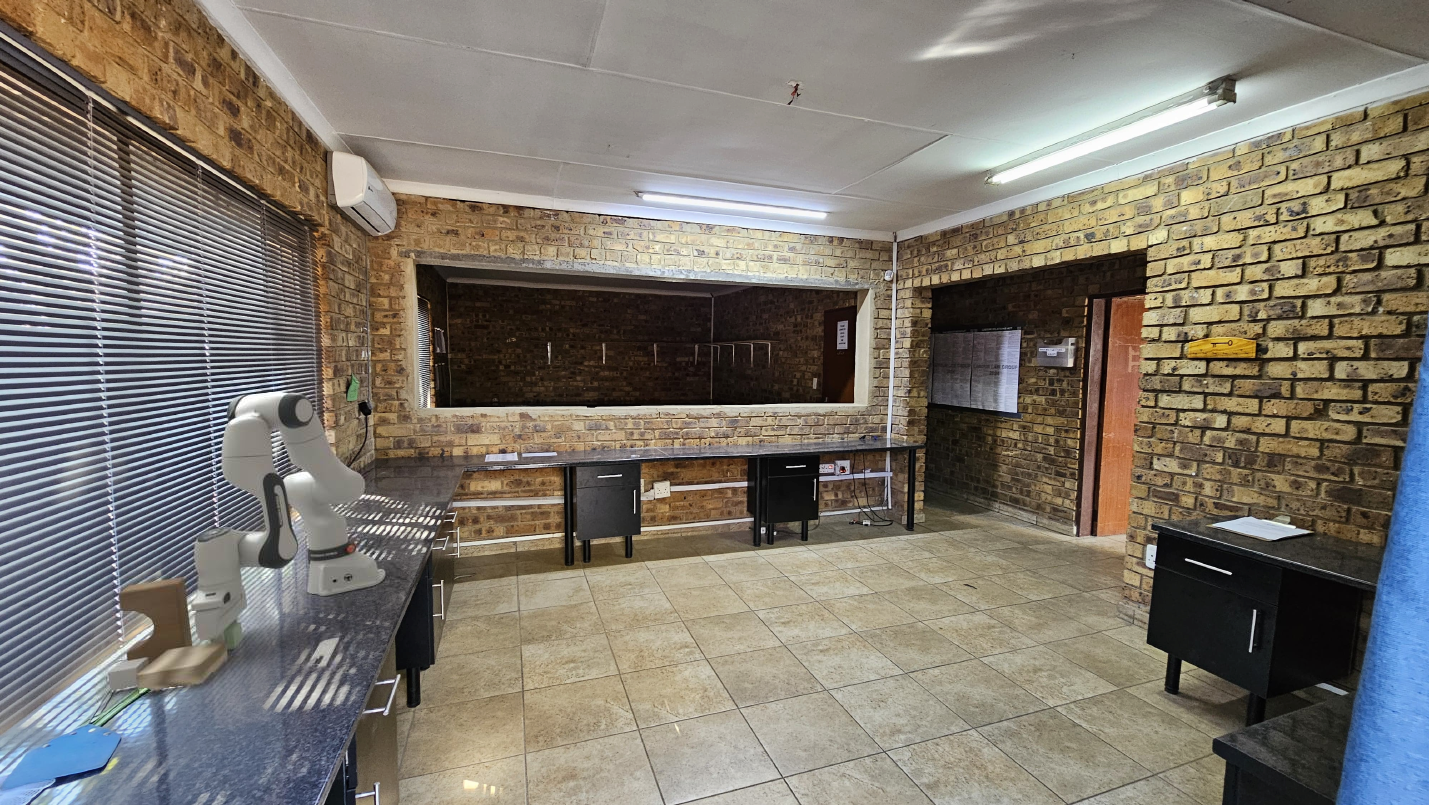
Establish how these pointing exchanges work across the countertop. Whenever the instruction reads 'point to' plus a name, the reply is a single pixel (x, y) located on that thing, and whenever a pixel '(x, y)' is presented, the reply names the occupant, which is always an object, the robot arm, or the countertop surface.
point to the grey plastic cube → (126, 673)
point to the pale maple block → (182, 666)
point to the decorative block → (159, 616)
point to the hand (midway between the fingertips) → (226, 640)
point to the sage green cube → (232, 635)
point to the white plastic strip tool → (325, 651)
